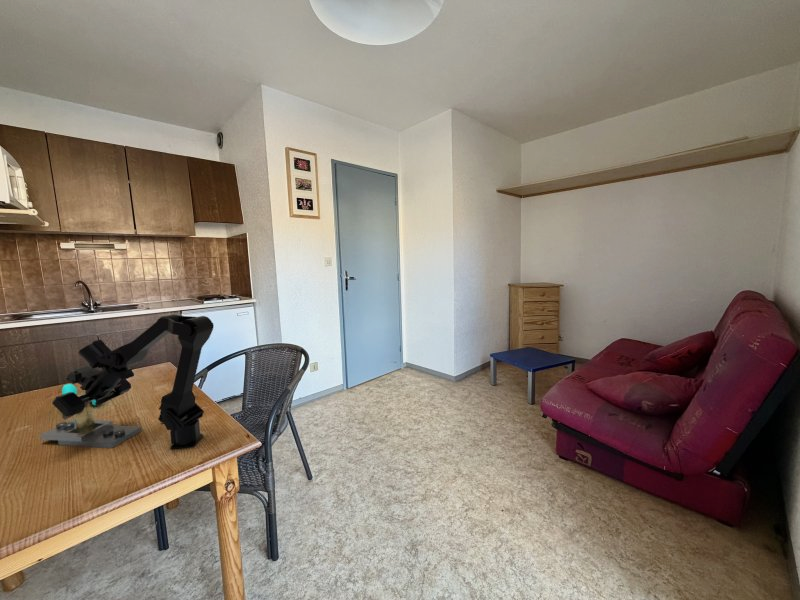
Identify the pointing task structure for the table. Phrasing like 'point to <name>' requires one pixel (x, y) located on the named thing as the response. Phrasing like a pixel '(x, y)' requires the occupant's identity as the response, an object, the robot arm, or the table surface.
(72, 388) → the donuts
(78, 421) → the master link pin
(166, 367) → the table surface
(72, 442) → the bolted metal plate
